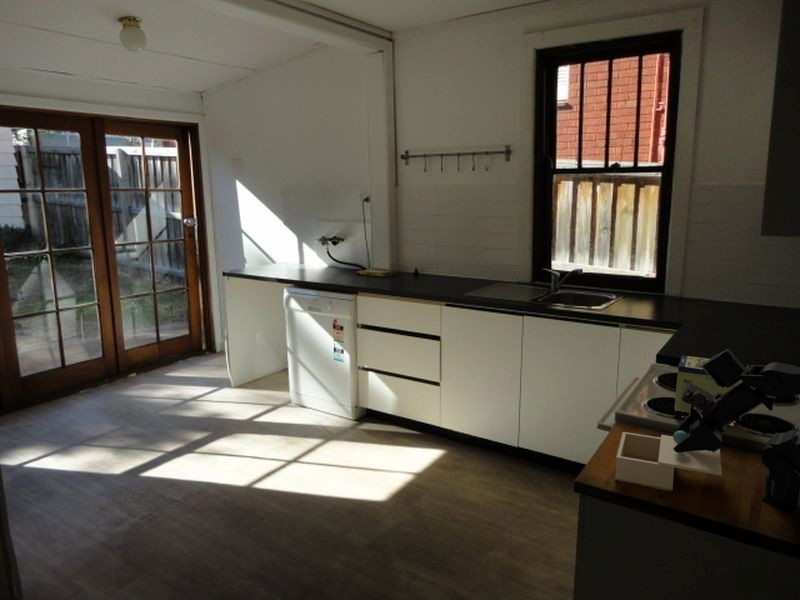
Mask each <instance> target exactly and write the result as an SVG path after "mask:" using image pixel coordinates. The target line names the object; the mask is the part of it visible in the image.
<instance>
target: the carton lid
mask: <svg viewBox="0 0 800 600" xmlns="http://www.w3.org/2000/svg"><path fill="white" fill-rule="evenodd" d="M687 435H688V433H686V432H684V431H676V432H675V431H674V433H673V435H672V436H671V435H665V434H661V436H660V438H661V441H660V450H659V459H658V465H664V466H670V467H674V469H675V468H676V469H683V470H688V471H692V472H693V471H694V472H699V473H704V474H709V475H715V476H722V475H723V472H722V471H723V470H722V464H721V463H722V462H721V449H719V450H717V451H716V452H712V451H708V450H704V451H688V452H678V453H677V452H675V451H674V450H673V448H674V447H675V446H676V445H677V444H678V443H679V442H680V441H682V440H683V439H684V438H685V437H686V436H687Z"/></svg>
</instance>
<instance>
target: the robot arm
mask: <svg viewBox="0 0 800 600" xmlns="http://www.w3.org/2000/svg"><path fill="white" fill-rule="evenodd" d="M708 359H709V360H708V361H707V362H705V363H704V364H703V365H702V366H701V367H702V368H703V369H704V370H705V372H706V373H707V374H708V375H709V376H710V377H711V378H712V379H713V380H714V381H715V383H716V384H717V385H718V386H719V387H720V386H721V387H722V388H724V387H727V388H729V387H731V386H732V385H734V384H735V383H737V382H738V381H740V384H738V385H737V386H735V387H734V388H732V389H731V390H729V391H727V392H726V393H724V394H722V393H717V394H715V395H712V394H710V393H708V392H707V391H705V390H703V389H701V388H699V387H697V386H696V385H694V384H691V383H689V384H688V385H687V387H686V388H685V390H684V391H683V393H682V398H681V399H682V401H684V402H685V403H687V404H691V406H690V413H689V415H688V416H687V417H686V418H685V419H684V420H682V422H681V423H680V424H679V425H678V426H677V428H675V430H674V433H675V432H676V431H684V432H686V433H687V436H686V437H685V438H684V439H683V440H682V441H680V442H679V443H678V444H677V445H676V446H675V447H674V448H673V450H674V451H675V452H677V453H678V452H688V451H704V450H708V451H712V452H716V451H717V450H719V449H720V450H721V449H722V446H723V440H722V435H721V434H723V433H724V432H725V430H726V429H725V428H726V427H728V426H727V425H729V424H731V423H732V422H734V421H735V423H736V424H738V423H740V422H742V417H743V416H745V415H747V414H748V413H750V412H752V411H753V410H755V409H757V408H758V407H760V406H761V405H764V406H765V408H766V409H767V410H769V412H772V411H773V410H774V402H775V400H776V398H782V397H795V396H799V395H800V366H797V365H793V364H787V363H782V362H778V361H776V362H770V363H768V364H766V365H755V364H754V365H753V364H751V365H746V367H745V366H744V364H743V363H742V362H741V361H740V359H738V358H737V357H736V356H735V354H734V352H732V350H731V349H730V348H727V349H725V350H724V351H721V352H720V353H716V354H715V355H713V356H712V357H711V358H708ZM760 458H761V462H762V464H763V465H764V466H765V467H766V469H768V470H769V471H768V475H766V476H765V482H764V483H765V484H764V485H765V486H764V491H763V492H764V495H762V496H761V500H763V501H765V502H767V503H769V504H771V505H773V506H776V507H778V508H780V509H782V510H784V511H786V512H788V511H789V512H788V513H790V512H791V514H795V513H796V512H798V511H800V435H799V434H798V433H797V429H791V430H788V431H785V432H775V433H774V436H773V437H770V438H769V439H768V440H767V443H766V445H765V447H764V448H763V450H762V452H761V456H760Z"/></svg>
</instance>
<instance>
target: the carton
mask: <svg viewBox="0 0 800 600" xmlns="http://www.w3.org/2000/svg"><path fill="white" fill-rule="evenodd" d="M660 441H661V436H660V437H659V436H652V435H645V434H640V433H639V434H638V433H633V432H626V431H622V434H621V438H620V442H619V445H618V449H617V452H616V456H615V457H616V458H615V460H616V461H615V475H614V477H615V478H614V480H620V481H625V482H630V483H635V484H640V485H644V486H643V487H645V486H649V487H648V488H650V487H652V489H655V488H656V489H655V490H661V491H667V492H671V491H672V492H673V487H674V477H675V476H674V475H675V467H670V466H664V465H658V459H659V450H660Z"/></svg>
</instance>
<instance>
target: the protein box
mask: <svg viewBox="0 0 800 600" xmlns="http://www.w3.org/2000/svg"><path fill="white" fill-rule="evenodd" d="M709 359H710V358H705V357H698V356H689V355H681V357H680V360H679V364H678V367H677V378H676V388H675V390H676V391H675V400H674V409H675V411H681V412H687V413H690V406H691V404H687V403H685V402H684V401H682V399H681V398H682V393H683V391H684V390H685V388H686V387H687V385H688V384H689V383H691V384H694V385H696V386H697V387H699V388H701V389H703V390H705V391H707V392H708V393H710V394H712V395H715V394H717V393H722V394H724V393H726V392H727V391H729V390H731V389H732V388H734V387H735V386H737V385H738V384H740V383H741V380H740V381H738V382H737V383H735V384H734V385H732V386H731V387H729V388H727V387H724V388H722V387H721V386H720V387H719V386H718V385H717V384H716V383H715V381H714V380H713V379H712V378H711V377H710V376H709V375H708V374H707V373H706V372H705V370H704V369H703V368H702V367H701V366H702V365H703V364H704V363H705V362H707V361H708V360H709Z"/></svg>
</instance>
